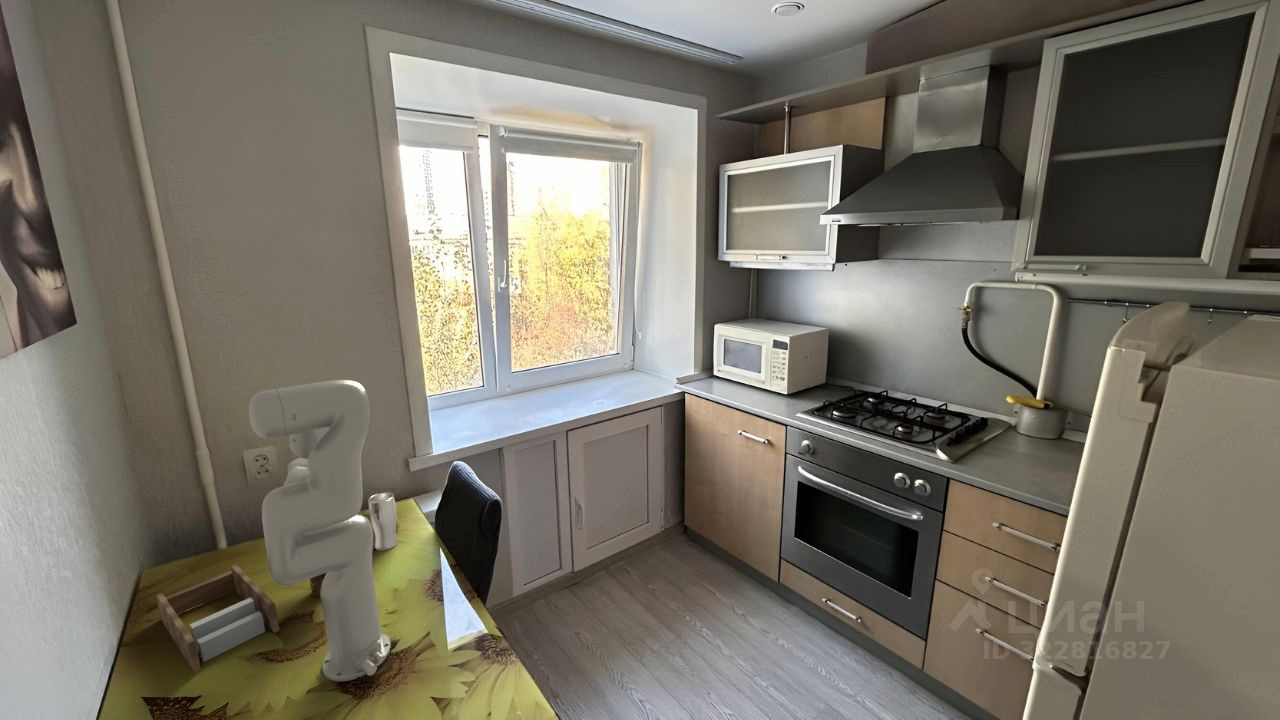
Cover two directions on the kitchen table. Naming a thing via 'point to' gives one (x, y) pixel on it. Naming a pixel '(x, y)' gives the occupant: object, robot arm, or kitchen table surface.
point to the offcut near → (221, 619)
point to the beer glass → (383, 520)
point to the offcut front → (230, 636)
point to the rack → (206, 593)
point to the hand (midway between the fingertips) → (322, 569)
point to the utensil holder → (316, 585)
